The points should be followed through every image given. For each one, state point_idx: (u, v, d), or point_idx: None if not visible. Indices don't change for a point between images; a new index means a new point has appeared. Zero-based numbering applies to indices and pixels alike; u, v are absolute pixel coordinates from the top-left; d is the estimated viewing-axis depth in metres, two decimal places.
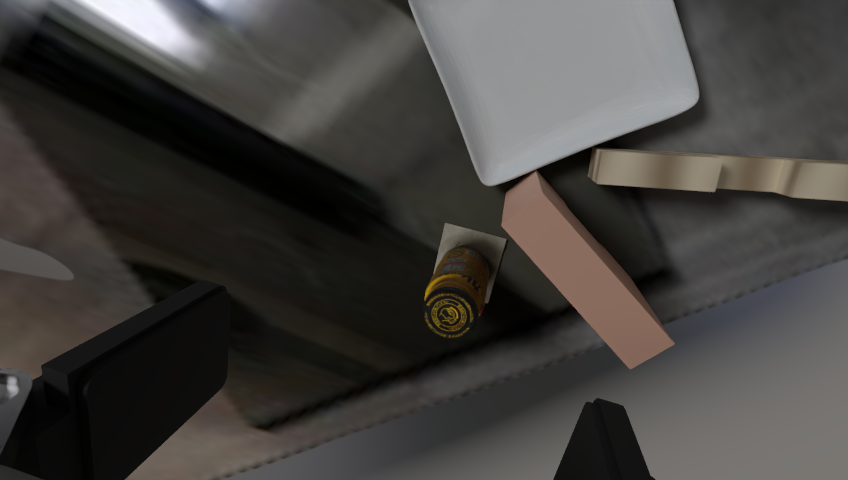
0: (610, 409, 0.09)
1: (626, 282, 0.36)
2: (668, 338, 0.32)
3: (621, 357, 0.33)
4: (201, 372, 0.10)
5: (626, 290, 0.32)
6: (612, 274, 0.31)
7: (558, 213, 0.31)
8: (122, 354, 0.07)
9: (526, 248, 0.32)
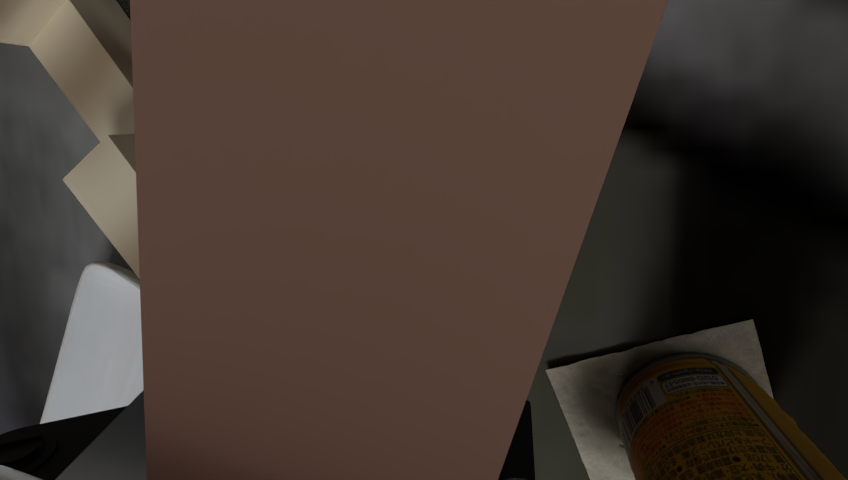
0: None
1: None
2: None
3: (596, 143, 0.03)
4: None
5: (154, 452, 0.05)
6: None
7: None
8: None
9: None
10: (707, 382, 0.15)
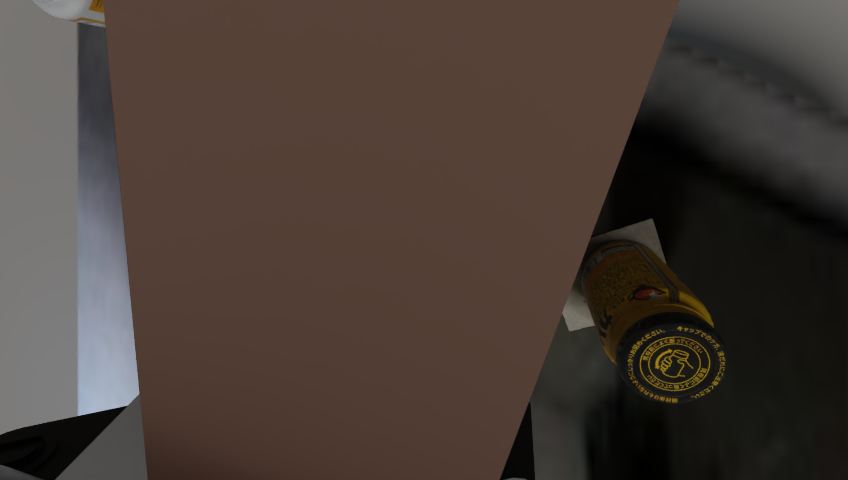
0: None
1: None
2: None
3: (598, 159, 0.03)
4: None
5: (154, 457, 0.05)
6: None
7: None
8: None
9: None
10: (624, 248, 0.29)
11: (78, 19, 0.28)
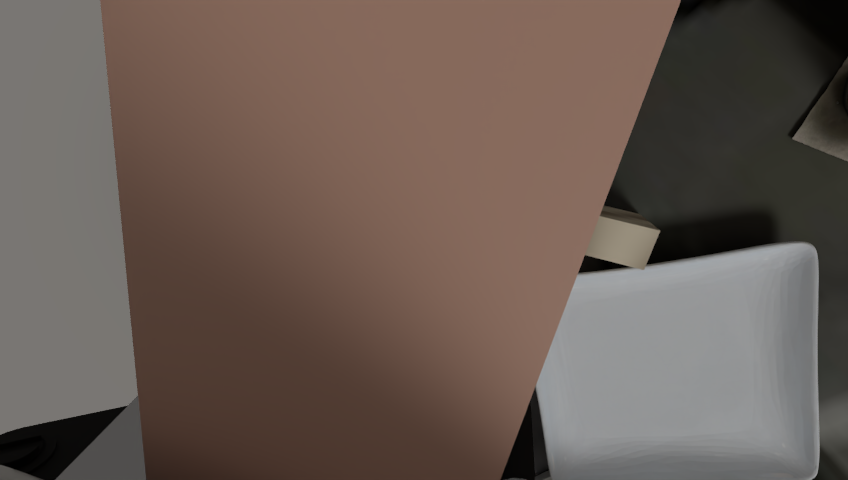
0: None
1: None
2: None
3: (600, 154, 0.03)
4: None
5: (152, 457, 0.05)
6: None
7: None
8: None
9: None
10: None
11: None
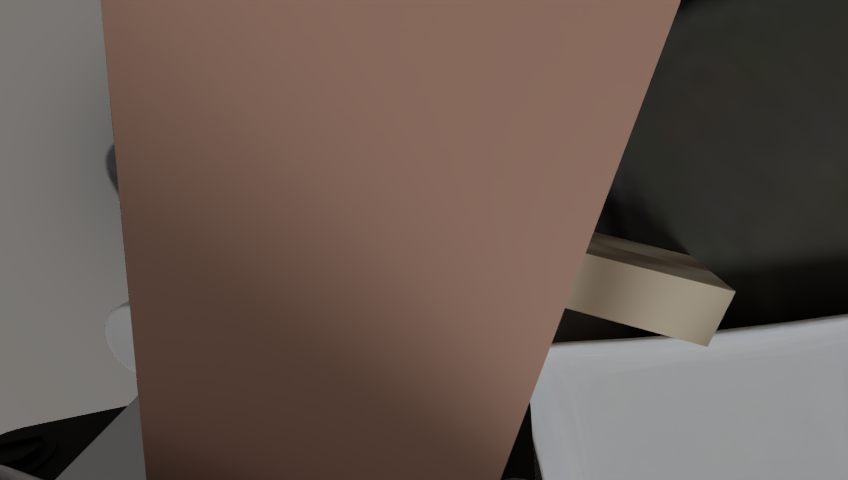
0: None
1: None
2: None
3: (600, 152, 0.03)
4: None
5: (152, 456, 0.05)
6: None
7: None
8: None
9: None
10: None
11: None
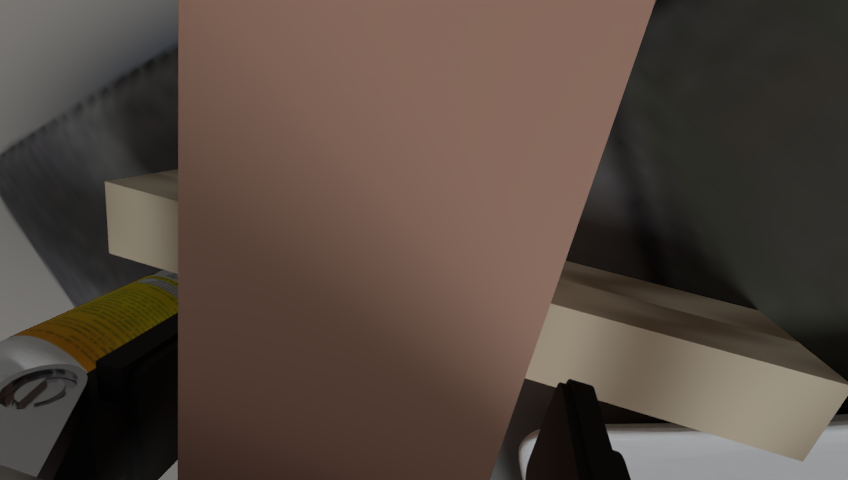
0: (580, 388, 0.09)
1: None
2: None
3: (613, 66, 0.03)
4: None
5: (186, 390, 0.05)
6: None
7: None
8: (167, 351, 0.08)
9: None
10: None
11: None
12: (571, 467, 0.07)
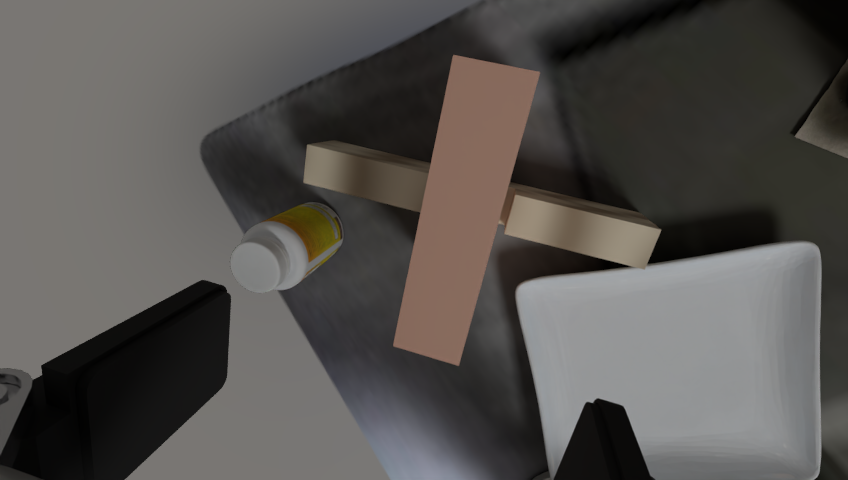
0: (610, 409, 0.09)
1: None
2: (452, 70, 0.19)
3: (528, 101, 0.19)
4: (201, 372, 0.10)
5: (429, 179, 0.21)
6: (422, 211, 0.21)
7: (400, 316, 0.23)
8: (122, 354, 0.07)
9: (465, 324, 0.23)
10: None
11: (305, 276, 0.32)
12: None
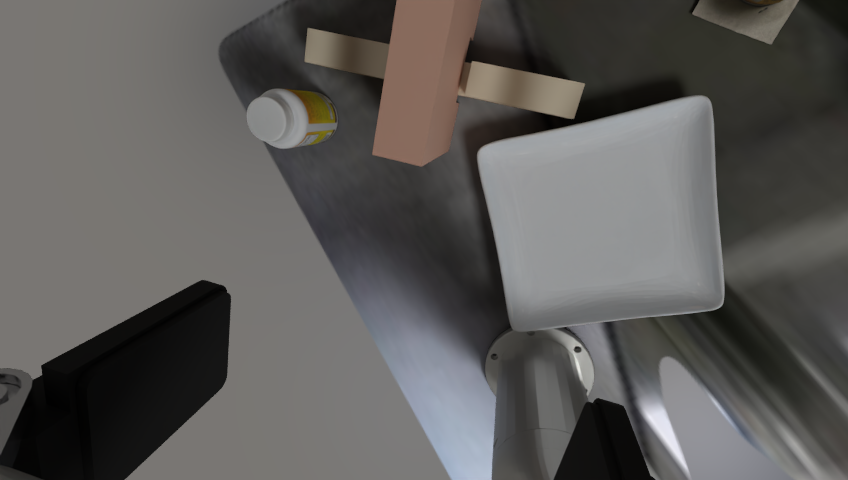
0: (610, 409, 0.09)
1: None
2: None
3: None
4: (201, 372, 0.10)
5: (396, 10, 0.28)
6: (392, 37, 0.29)
7: (377, 128, 0.31)
8: (122, 354, 0.07)
9: (425, 130, 0.30)
10: None
11: (305, 136, 0.39)
12: None
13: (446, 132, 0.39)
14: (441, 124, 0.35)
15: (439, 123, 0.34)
